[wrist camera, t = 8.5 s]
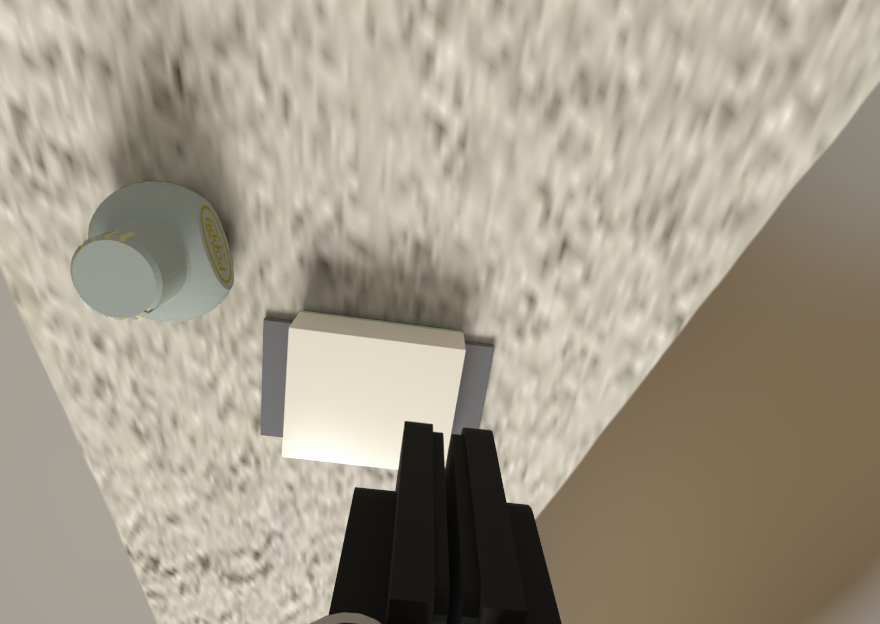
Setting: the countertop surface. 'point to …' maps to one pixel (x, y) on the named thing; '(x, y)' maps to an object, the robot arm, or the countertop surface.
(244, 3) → the countertop surface
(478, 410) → the mat
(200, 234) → the air freshener
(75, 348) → the countertop surface
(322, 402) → the tile
